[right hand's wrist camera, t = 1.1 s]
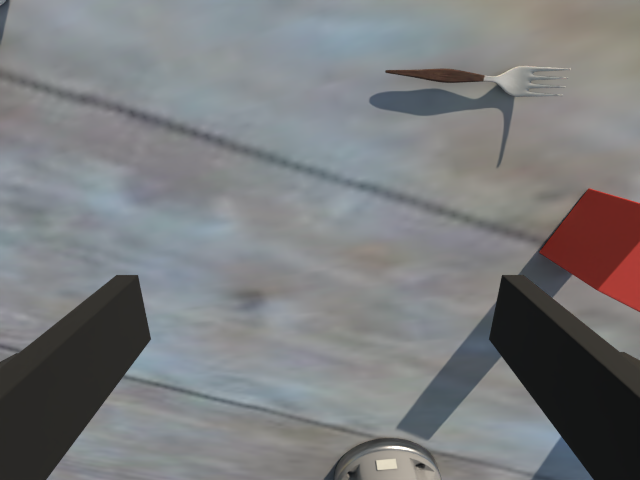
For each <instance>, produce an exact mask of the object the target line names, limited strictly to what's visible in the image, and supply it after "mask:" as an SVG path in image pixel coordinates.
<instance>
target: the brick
mask: <svg viewBox="0 0 640 480" xmlns="http://www.w3.org/2000/svg"><path fill="white" fill-rule="evenodd" d="M539 253H540V254H542V255H544V256H545V257H547V258H548V259H550V260H551V261H553V262H554V263H556V264H557V265H559V266H560V267H562V268H564V269H565V270H567V271H568V272H570V273H571V274H573V275H574V276H576V277H577V278H579V279H581V280H582V281H584V282H585V283H587V284H588V285H590V286H591V287H593V288H594V289H596V290H598V291H600V292H601V293H603V294H605V295H607V296H609V297H611V298H613V299H615V300H617V301H619V302H621V303H623V304H625V305H627V306H629V307H631V308H633V309H635V310H637V311H639V312H640V203H637V202H634V201H631V200H627V199H624V198H620V197H617V196H613V195H610V194H606V193H603V192H600V191H596V190H593V189H588V190H587V191H586V193H585V194H584V195H583V196H582V198H581V199H580V200H579V202H578V203H577V204H576V205H575V207H574V208H573V209H572V211H571V212H570V213H569V214H568V216H567V217H566V218H565V220H564V221H563V222H562V223H561V225H560V226H559V227H558V229H557V230H556V231H555V232H554V234H553V235H552V236H551V238H550V239H549V240H548V241H547V243H546V244H545V245H544V247H543V248H542V249H541V250H540V252H539Z"/></svg>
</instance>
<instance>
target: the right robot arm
mask: <svg viewBox="0 0 640 480" xmlns="http://www.w3.org/2000/svg"><path fill="white" fill-rule="evenodd" d="M150 340H151V337H150V332H149V327H148V323H147V318H146V313H145V308H144V303H143V298H142V293H141V288H140V283H139V278H138V275H116V276H115V277H114V278H112V279H111V280H110V281H109V282H107V283H106V284H105V285H104V286H102V287H101V288H100V289H99V290H97V291H96V292H95V293H94V294H92V295H91V296H90V297H89V298H87V299H86V300H85V301H84V302H82V303H81V304H80V305H79V306H77V307H76V308H75V309H74V310H72V311H71V312H70V313H69V314H67V315H66V316H65V317H64V318H62V319H61V320H60V321H59V322H57V323H56V324H55V325H54V326H52V327H51V328H50V329H49V330H47V331H46V332H45V333H44V334H42V335H41V336H40V337H39V338H37V339H36V340H35V341H34V342H32V343H31V344H30V345H29V346H27V347H26V348H25V349H24V350H22V351H21V352H20V353H16V354H14V355H12V356H11V357H9V358H7V359H5V360H3V361H1V362H0V480H46V479H47V478H48V477H49V475H50V474H51V472H52V471H53V470H54V468H55V467H56V466H57V464H58V463H59V462H60V460H61V459H62V458H63V456H64V455H65V454H66V452H67V451H68V450H69V448H70V447H71V446H72V444H73V443H74V442H75V440H76V439H77V438H78V436H79V435H80V434H81V432H82V431H83V430H84V428H85V427H86V426H87V424H88V423H89V422H90V420H91V419H92V418H93V416H94V415H95V414H96V412H97V411H98V409H99V408H100V407H101V405H102V404H103V403H104V401H105V400H106V399H107V397H108V396H109V395H110V393H111V392H112V391H113V389H114V388H115V387H116V385H117V384H118V383H119V381H120V380H121V379H122V377H123V376H124V375H125V373H126V372H127V371H128V369H129V368H130V367H131V365H132V364H133V363H134V361H135V360H136V359H137V357H138V356H139V355H140V353H141V352H142V351H143V349H144V348H145V347H146V345H147V344H148V342H149V341H150ZM489 340H490V341H491V342H492V344H493V345H494V347H495V348H496V349H497V351H498V352H499V353H500V355H501V356H502V357H503V359H504V360H505V361H506V363H507V364H508V365H509V367H510V368H511V369H512V371H513V372H514V373H515V375H516V376H517V377H518V379H519V380H520V381H521V383H522V384H523V385H524V387H525V388H526V389H527V391H528V392H529V393H530V395H531V396H532V397H533V399H534V400H535V401H536V403H537V404H538V405H539V407H540V408H541V409H542V411H543V412H544V414H545V415H546V416H547V418H548V419H549V420H550V422H551V423H552V424H553V426H554V427H555V428H556V430H557V431H558V432H559V434H560V435H561V436H562V438H563V439H564V440H565V442H566V443H567V444H568V446H569V447H570V448H571V450H572V451H573V452H574V454H575V455H576V456H577V458H578V459H579V460H580V462H581V463H582V464H583V466H584V467H585V468H586V470H587V471H588V472H589V474H590V475H591V477H592V478H593V479H594V480H640V360H638V359H636V358H634V357H632V356H630V355H628V354H627V353H625V352H619V351H618V350H616V349H615V348H614V347H613V346H611V345H610V344H609V343H608V342H606V341H605V340H604V339H603V338H601V337H600V336H599V335H598V334H596V333H595V332H594V331H593V330H591V329H590V328H589V327H588V326H586V325H585V324H584V323H583V322H581V321H580V320H579V319H578V318H576V317H575V316H574V315H573V314H571V313H570V312H569V311H568V310H566V309H565V308H564V307H563V306H561V305H560V304H559V303H558V302H556V301H555V300H554V299H553V298H551V297H550V296H549V295H548V294H546V293H545V292H544V291H543V290H541V289H540V288H539V287H538V286H536V285H535V284H534V283H533V282H531V281H530V280H529V279H528V278H526V277H525V276H524V275H502V278H501V283H500V288H499V293H498V298H497V303H496V308H495V313H494V318H493V323H492V327H491V332H490V337H489ZM334 480H441V476H440V473H439V470H438V467H437V464H436V461H435V459H434V458H433V456H432V455H431V454H430V453H429V452H428V451H427V450H426V449H425V448H423V447H422V446H420V445H418V444H416V443H413V442H410V441H407V440H403V439H394V438H385V439H376V440H372V441H368V442H365V443H362V444H360V445H358V446H356V447H354V448H353V449H351V450H350V451H348V452H347V453H346V454H345V455H344V456H343V457H342V458H341V459H340V461H339V462H338V464H337V466H336V469H335V474H334Z"/></svg>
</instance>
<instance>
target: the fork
mask: <svg viewBox="0 0 640 480" xmlns="http://www.w3.org/2000/svg"><path fill="white" fill-rule="evenodd" d="M557 70H571V69H564V68H547V67H532V66H519V67H515V68H512V69H510V70H508V71H506V72H505V73H503V74H501V75H499V76H496V77H490V76H484V75H479V74H475V73H470V72H465V71H460V70H454V69H424V70H386V73H391V74H397V75H403V76H410V77H415V78H421V79H426V80H431V81H437V82H445V83H457V82H479V81H492V82H495V83H497V84H498V85H499V86H500V87H501V88H502V89H503V90H504V91H505V92H506V93H508V94H509V95H512V96H516V97H527V96H563V95H558V94H546V93H535V92H529V91H528V90H529V89H532V88H559V87H565V86H554V85H541V84H532V83H531V81H532V80H547V79H567V78H565V77H550V76H537V75H533V73H534V72H538V71H557Z"/></svg>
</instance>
